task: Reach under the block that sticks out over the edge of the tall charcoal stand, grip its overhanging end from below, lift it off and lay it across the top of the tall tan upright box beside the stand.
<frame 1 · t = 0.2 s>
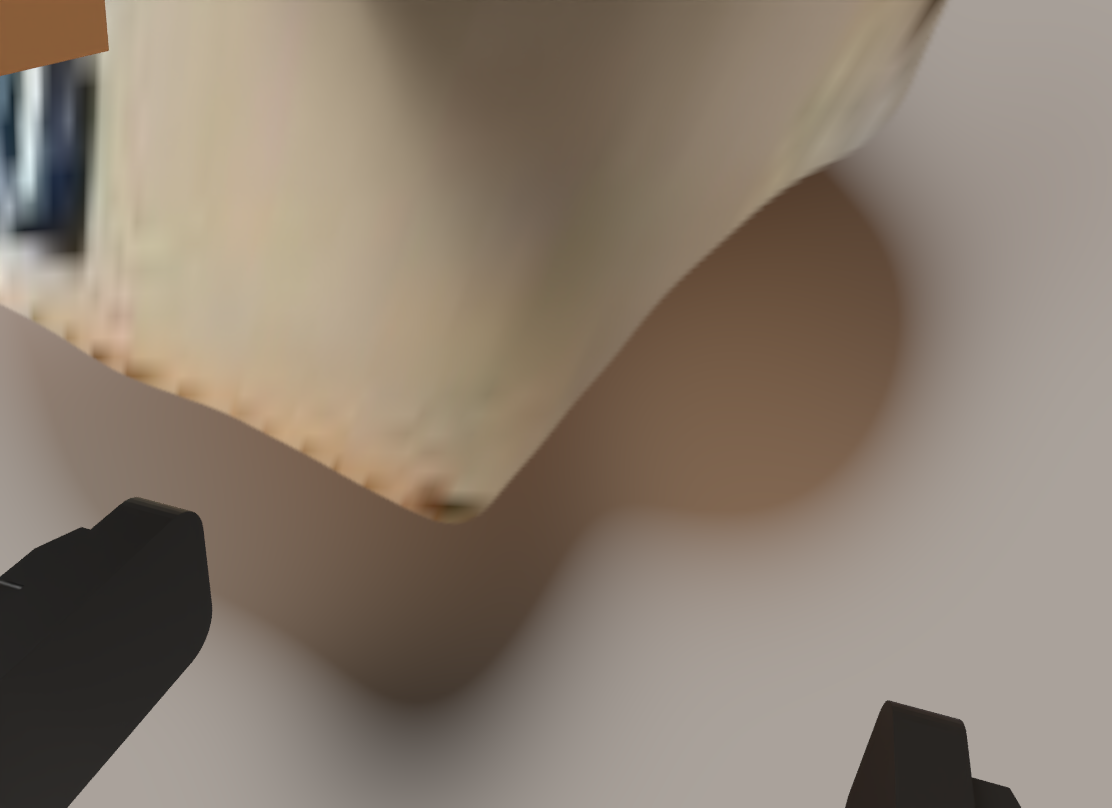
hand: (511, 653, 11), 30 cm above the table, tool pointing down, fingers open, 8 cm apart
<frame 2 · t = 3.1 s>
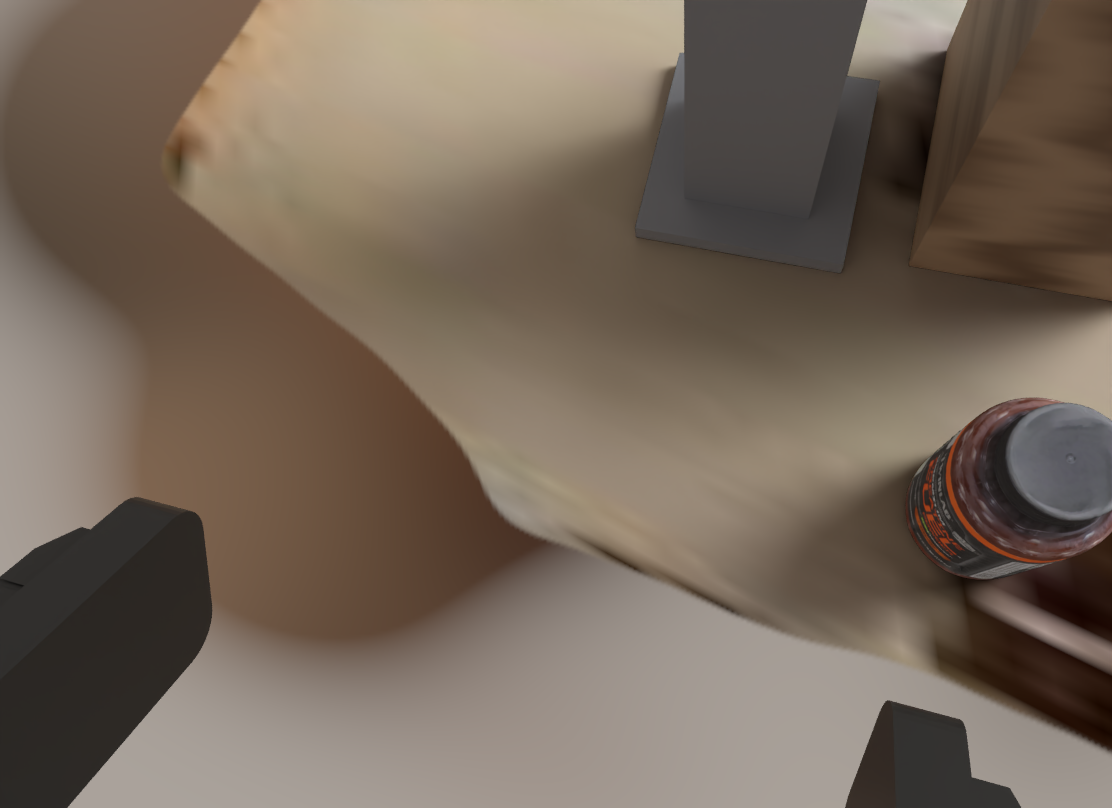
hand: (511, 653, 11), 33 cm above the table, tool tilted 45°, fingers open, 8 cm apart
supplement bottle: (970, 515, 42), on the table
tall stand: (756, 164, 48), on the table
tan upright box: (1036, 171, 46), on the table
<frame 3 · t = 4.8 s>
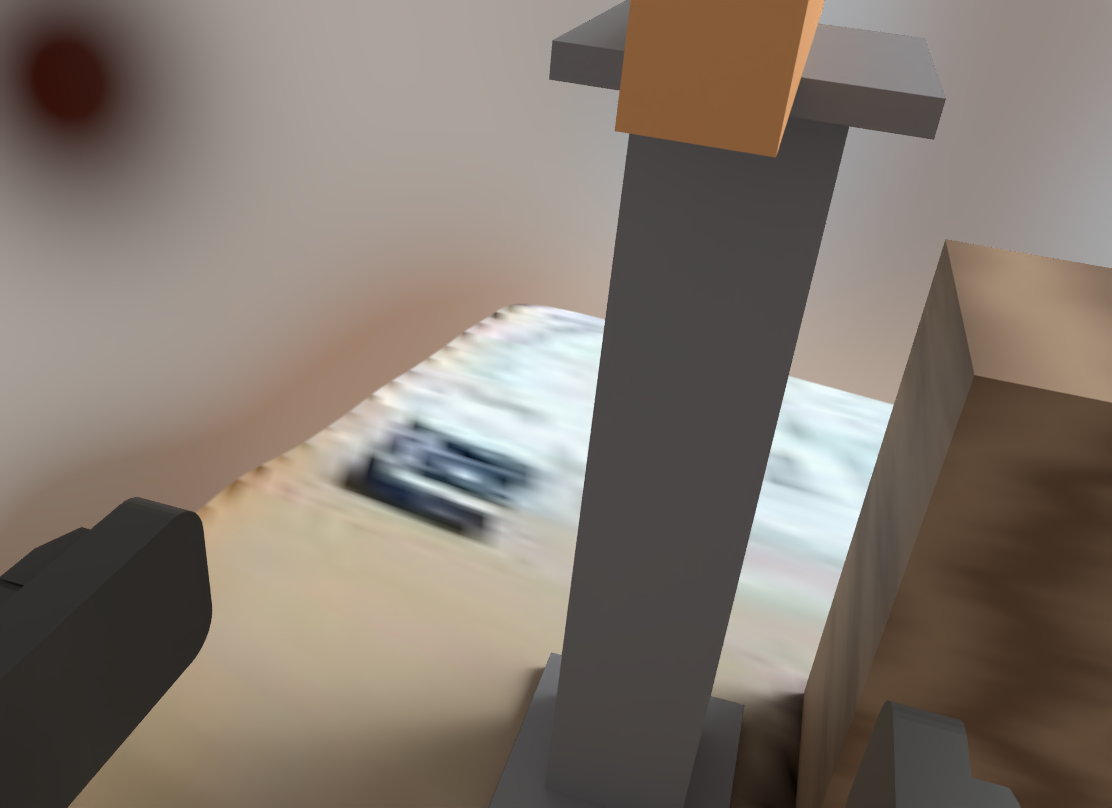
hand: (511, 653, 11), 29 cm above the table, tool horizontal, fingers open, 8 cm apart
block: (753, 49, 27), point 32 cm above the table, touching tall stand
tall stand: (622, 769, 45), on the table
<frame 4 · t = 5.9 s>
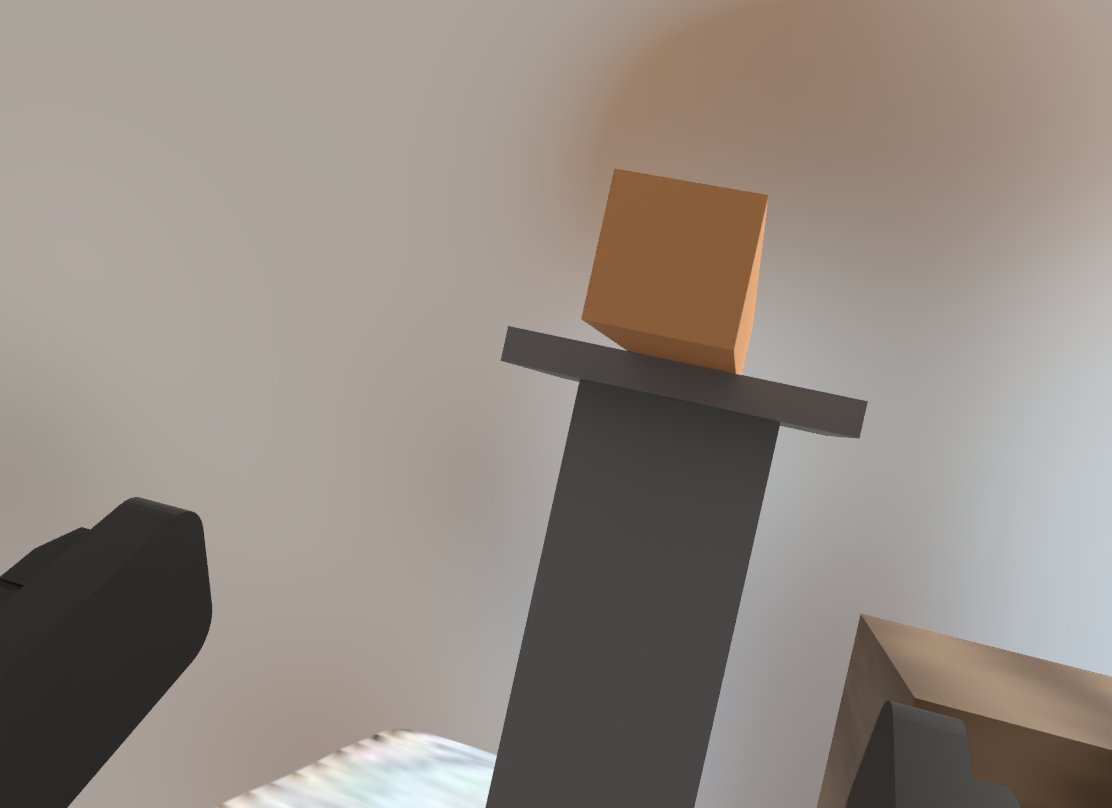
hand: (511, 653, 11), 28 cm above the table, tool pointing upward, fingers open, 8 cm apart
block: (687, 369, 29), point 32 cm above the table, touching tall stand
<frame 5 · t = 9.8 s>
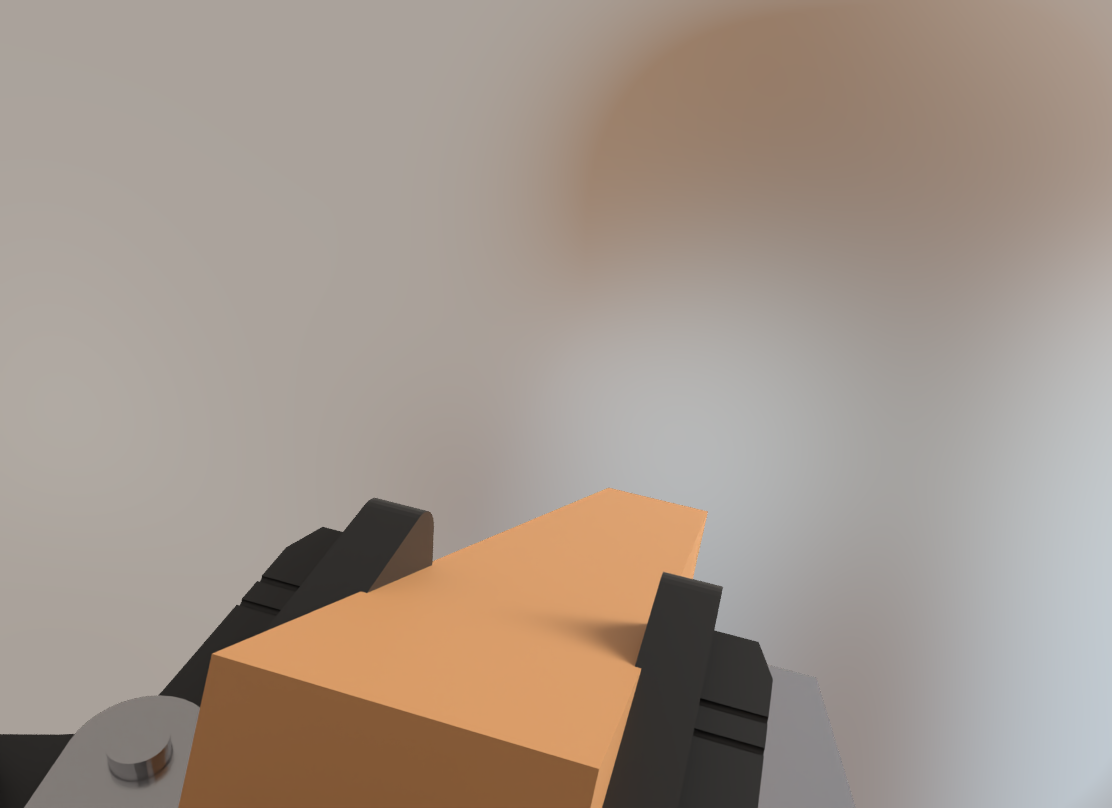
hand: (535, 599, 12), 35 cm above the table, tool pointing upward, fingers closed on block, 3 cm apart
block: (571, 699, 18), point 33 cm above the table, touching gripper, tall stand
when the fingers open (30 cm above the table, at t = 17.6 s): block drops 2 cm, resting on tan upright box.
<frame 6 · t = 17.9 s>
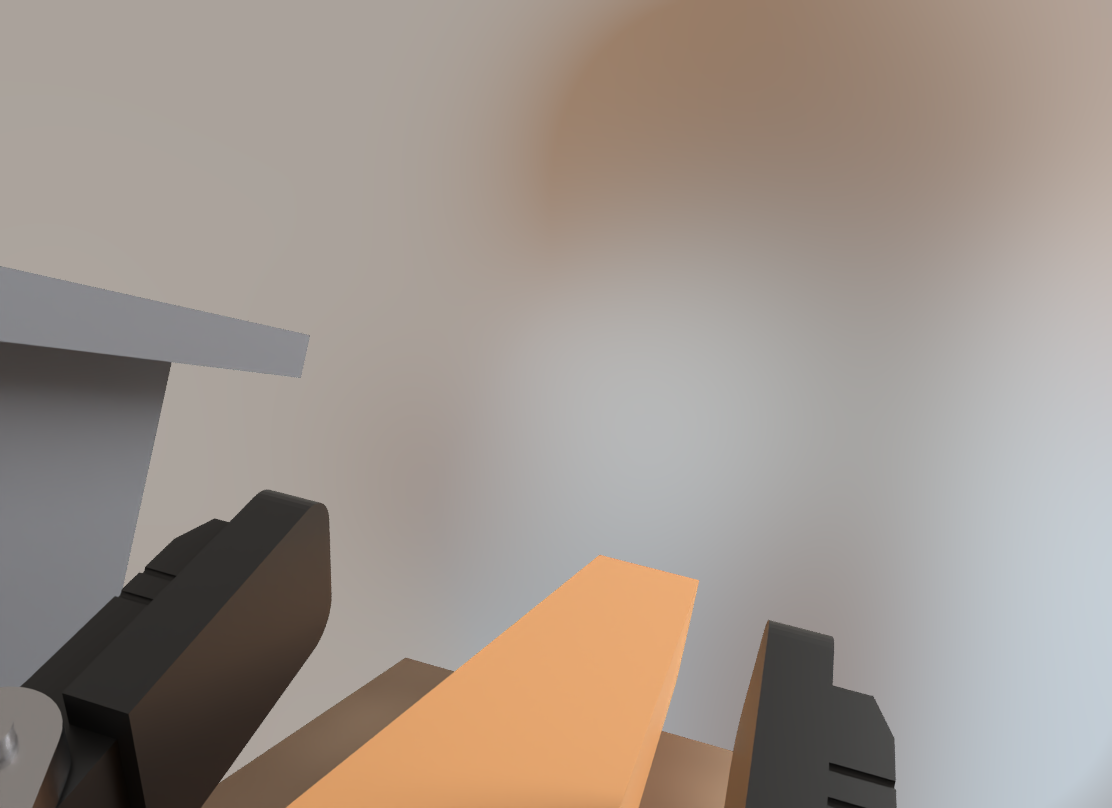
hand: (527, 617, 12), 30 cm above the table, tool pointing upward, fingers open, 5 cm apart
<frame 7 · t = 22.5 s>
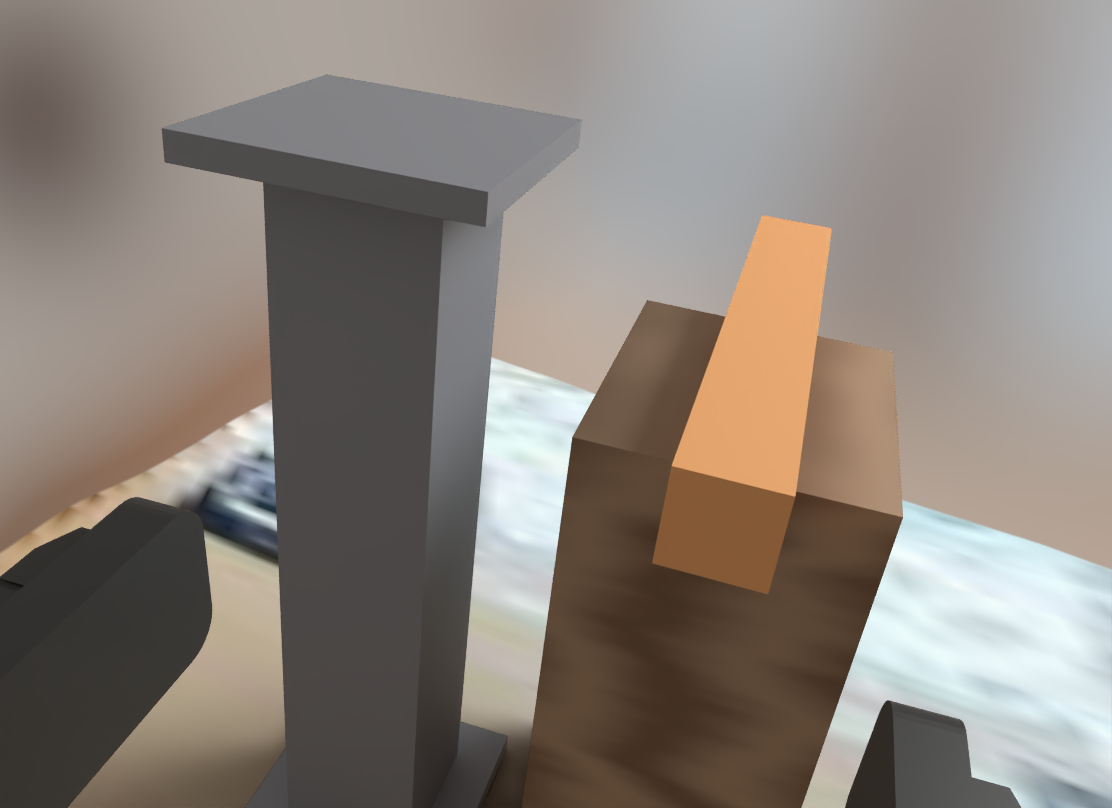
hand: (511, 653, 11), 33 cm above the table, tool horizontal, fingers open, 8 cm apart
block: (755, 391, 34), point 25 cm above the table, touching tan upright box
tall stand: (376, 796, 47), on the table
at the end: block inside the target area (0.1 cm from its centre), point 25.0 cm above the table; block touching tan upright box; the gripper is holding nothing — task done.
